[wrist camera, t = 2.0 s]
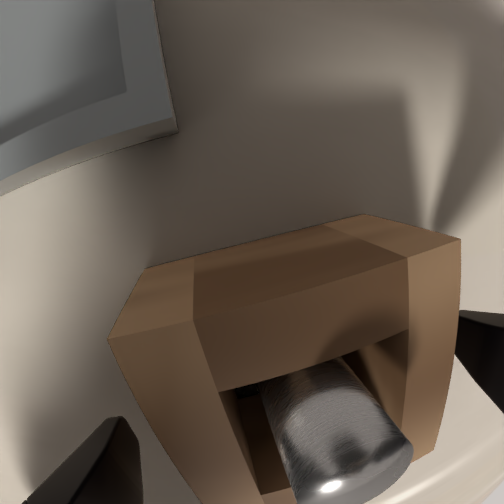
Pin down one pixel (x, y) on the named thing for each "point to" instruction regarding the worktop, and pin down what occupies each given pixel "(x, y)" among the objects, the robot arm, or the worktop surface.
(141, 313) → the brown square socket block
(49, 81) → the tray
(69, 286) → the worktop surface
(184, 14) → the worktop surface
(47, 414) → the worktop surface
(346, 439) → the post
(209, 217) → the worktop surface
